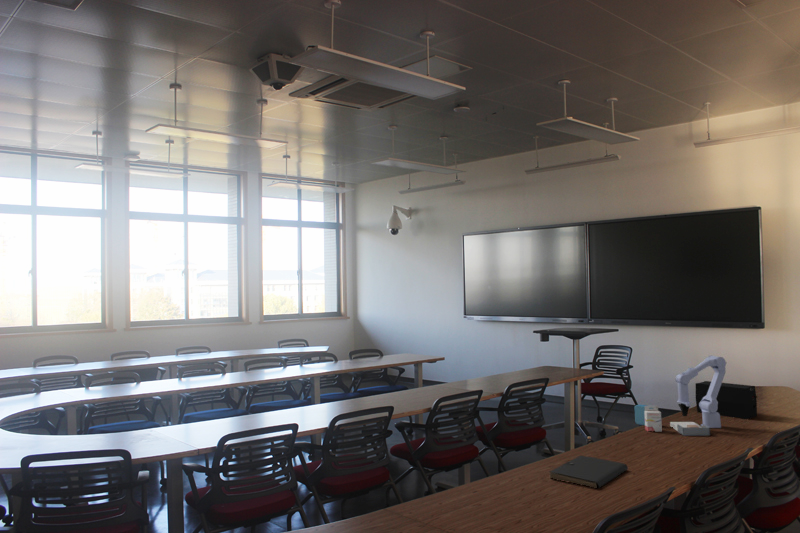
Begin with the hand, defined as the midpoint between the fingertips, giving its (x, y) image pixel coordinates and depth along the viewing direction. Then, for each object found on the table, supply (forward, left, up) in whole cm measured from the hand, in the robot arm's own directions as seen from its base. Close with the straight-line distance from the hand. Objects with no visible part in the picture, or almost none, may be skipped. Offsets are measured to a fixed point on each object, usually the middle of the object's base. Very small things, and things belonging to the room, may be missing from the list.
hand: (684, 416), depth 346 cm
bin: (0, +14, -8) cm, 15 cm away
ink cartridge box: (+21, +6, -8) cm, 23 cm away
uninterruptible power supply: (-40, -39, -8) cm, 57 cm away
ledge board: (0, +1, -8) cm, 8 cm away
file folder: (+75, +91, -8) cm, 118 cm away
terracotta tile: (0, +13, -5) cm, 14 cm away
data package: (+21, -10, -8) cm, 24 cm away
